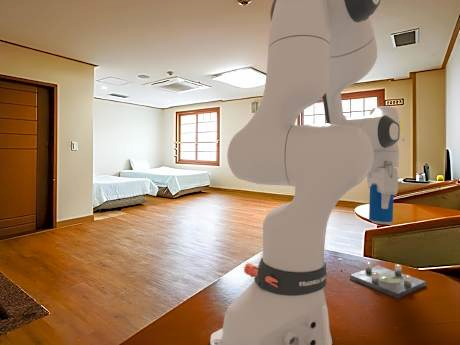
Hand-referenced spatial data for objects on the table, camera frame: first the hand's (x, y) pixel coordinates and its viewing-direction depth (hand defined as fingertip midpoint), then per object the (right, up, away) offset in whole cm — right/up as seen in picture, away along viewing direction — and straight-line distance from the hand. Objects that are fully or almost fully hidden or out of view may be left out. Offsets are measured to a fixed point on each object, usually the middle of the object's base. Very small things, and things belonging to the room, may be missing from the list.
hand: (380, 206), depth 91 cm
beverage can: (0, -5, 0) cm, 5 cm away
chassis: (-4, -19, -12) cm, 23 cm away
